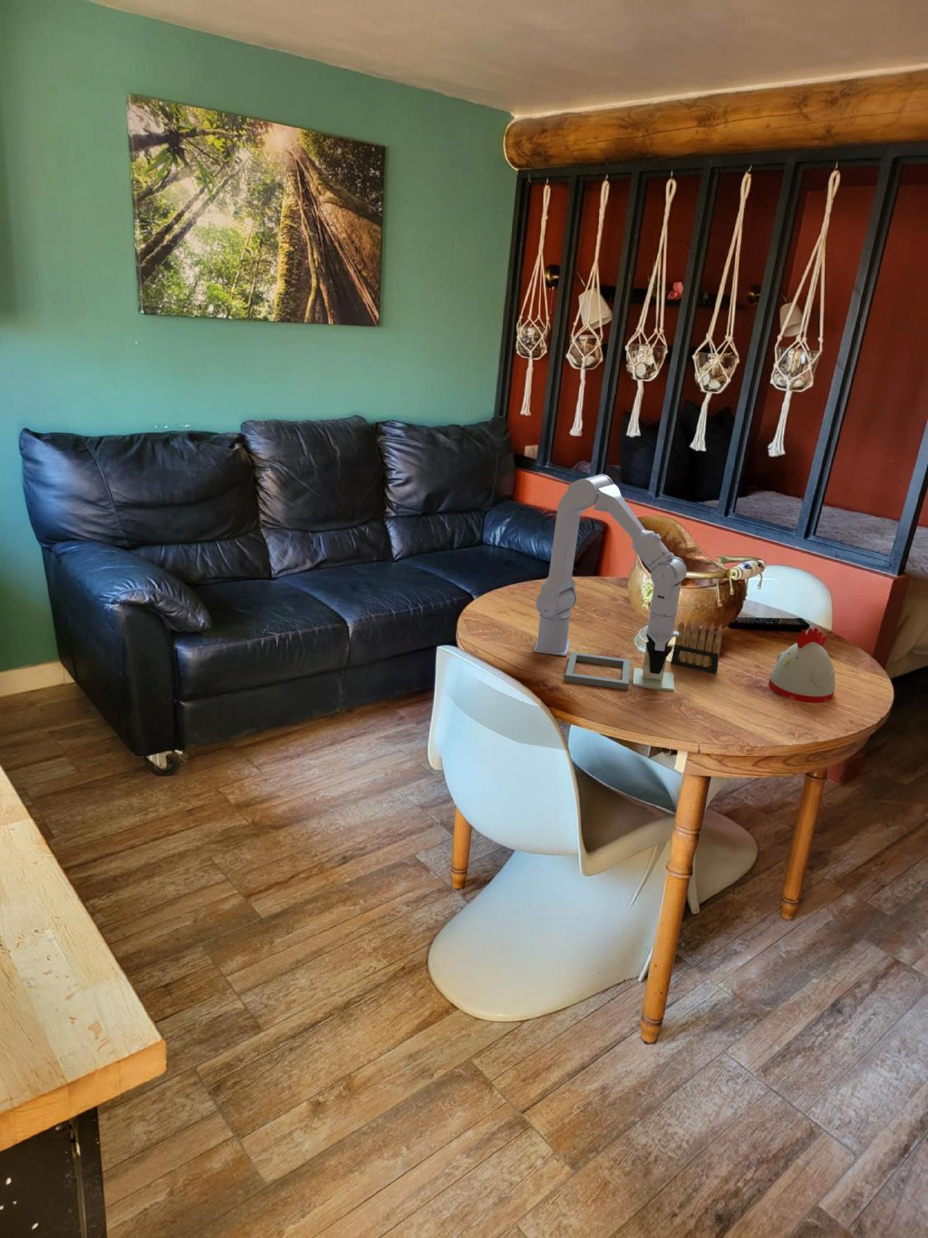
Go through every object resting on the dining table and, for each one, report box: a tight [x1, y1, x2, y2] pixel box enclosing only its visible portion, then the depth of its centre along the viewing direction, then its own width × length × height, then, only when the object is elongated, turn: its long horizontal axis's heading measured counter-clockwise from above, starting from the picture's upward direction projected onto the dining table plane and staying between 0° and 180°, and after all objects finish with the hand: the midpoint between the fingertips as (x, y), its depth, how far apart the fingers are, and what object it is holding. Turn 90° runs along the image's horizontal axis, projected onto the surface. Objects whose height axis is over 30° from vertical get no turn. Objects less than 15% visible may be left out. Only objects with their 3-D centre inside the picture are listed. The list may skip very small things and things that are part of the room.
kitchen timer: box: [768, 627, 836, 704], centre depth 186 cm, size 14×14×15 cm
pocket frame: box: [564, 651, 631, 691], centre depth 191 cm, size 14×14×2 cm
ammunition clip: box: [670, 619, 723, 674], centre depth 195 cm, size 11×2×12 cm, turn 65°
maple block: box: [642, 647, 667, 680], centre depth 187 cm, size 4×4×6 cm
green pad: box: [632, 667, 675, 692], centre depth 189 cm, size 9×9×1 cm
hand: (654, 668), depth 188 cm, fingers closed on maple block, 4 cm apart
